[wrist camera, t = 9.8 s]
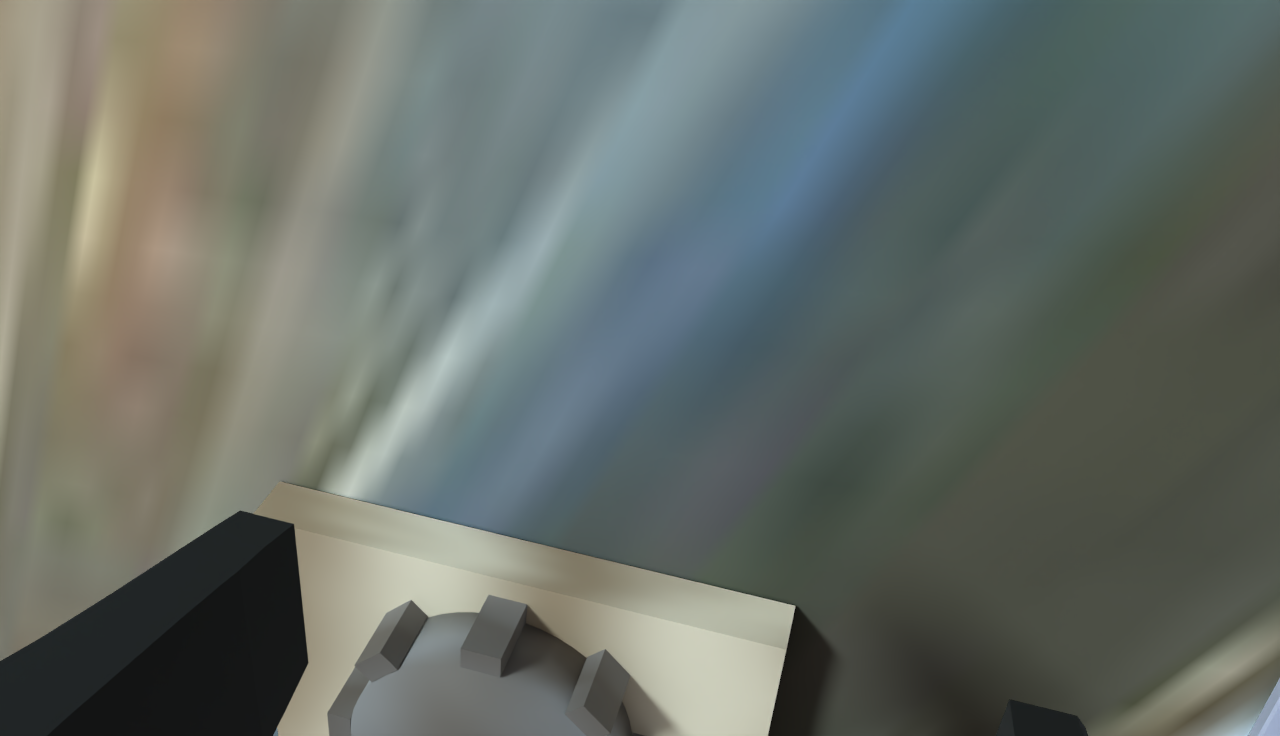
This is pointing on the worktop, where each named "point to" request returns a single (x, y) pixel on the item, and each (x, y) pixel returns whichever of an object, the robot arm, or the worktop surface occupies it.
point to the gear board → (512, 635)
